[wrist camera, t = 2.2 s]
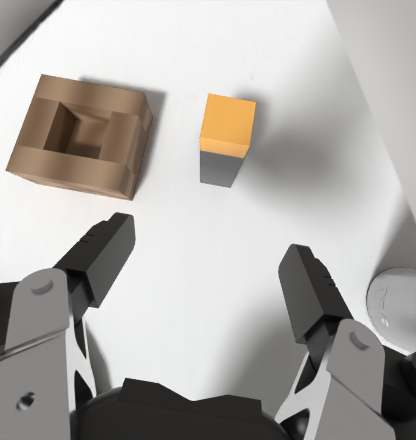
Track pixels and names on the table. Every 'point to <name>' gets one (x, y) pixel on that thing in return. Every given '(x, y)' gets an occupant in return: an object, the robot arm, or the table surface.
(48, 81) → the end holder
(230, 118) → the connector plug
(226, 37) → the table surface
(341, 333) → the robot arm
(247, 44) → the table surface
